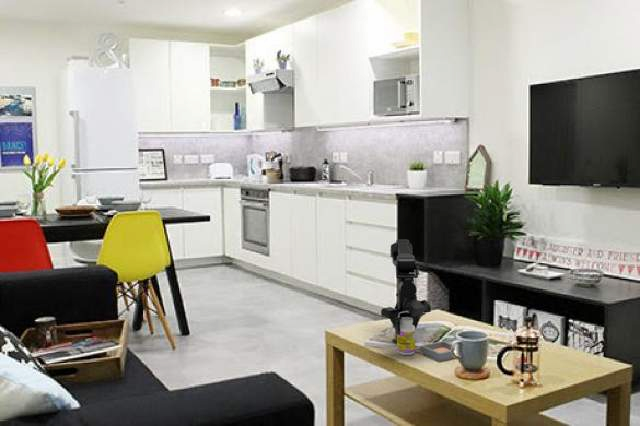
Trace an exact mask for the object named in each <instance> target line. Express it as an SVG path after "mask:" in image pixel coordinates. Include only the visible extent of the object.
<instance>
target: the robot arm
mask: <svg viewBox="0 0 640 426" xmlns="http://www.w3.org/2000/svg"><path fill="white" fill-rule="evenodd" d="M389 250H390V251H389V252H390V253H389V254H390V258H391V261H392V264H393V265H394V267H395V277H396V285H397V290H396V291H397V293H396V295H395V296H396V297H397V302H396V304H395V306H394V307H391V306H389V307H383V308H381V310H380V316H381V317H384V318H386V319H389V320H390V322H391V324H392V328H393V329H394V330H395V332H394V333H395V338H392V342H394V343H396V344H397V334H398V335H400V321H401V319H402V317H410V318H412V319H413V323H412V325H414V326H415V332H416V330H417V328H418V325H419V322H420V320H421V318H422V317H423V316H425V315H426V313H427V314H428V313H431V311H432V306H431V305H430V303H429V302H428V300H426V299H421V300H418V296H417V292H418V290H417V286H416V283H415V279H418V278H419V276H420V267H419V266H420V265H419V262H418V260H417V259H416V258H415V255H413V244H412V243H410V240H409V239H396V240H395V242H394V243H392V244H391V245H390V249H389Z"/></svg>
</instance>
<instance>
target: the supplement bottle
mask: <svg viewBox="0 0 640 426" xmlns="http://www.w3.org/2000/svg"><path fill="white" fill-rule="evenodd" d="M412 323H413V319H412V318H410V317H402V319H401V321H400V335H398V334H397V343H396V352H397V353H398V354H399V355H402V356H411V355H414V354H415V353H416V331H415V326H414V325H412Z"/></svg>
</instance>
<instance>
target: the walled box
mask: <svg viewBox="0 0 640 426" xmlns="http://www.w3.org/2000/svg"><path fill="white" fill-rule="evenodd" d="M452 344H453V343H452V342H451V343H450V342H449V341H445V340H441V341H437V342H436V341H435V342H432V343H427V344H422V345H420V348H419V349H420V350H419V353H420V354H421V355H422V356H425V357H427V358H429V359H431V360H433V361H435V362H438V363H443V362H447V361H452V360H456V359H455V358H454V357H453V356H452V354H451V351H450V350H451V346H452Z"/></svg>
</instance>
